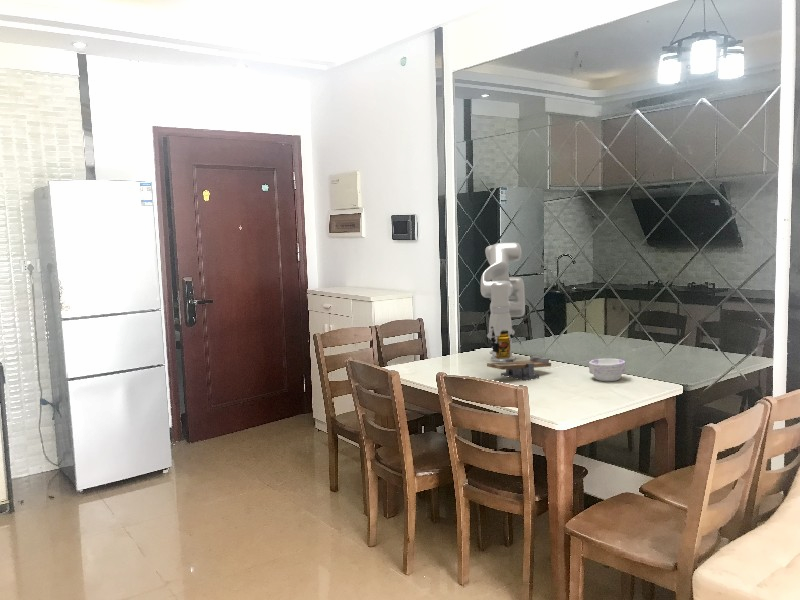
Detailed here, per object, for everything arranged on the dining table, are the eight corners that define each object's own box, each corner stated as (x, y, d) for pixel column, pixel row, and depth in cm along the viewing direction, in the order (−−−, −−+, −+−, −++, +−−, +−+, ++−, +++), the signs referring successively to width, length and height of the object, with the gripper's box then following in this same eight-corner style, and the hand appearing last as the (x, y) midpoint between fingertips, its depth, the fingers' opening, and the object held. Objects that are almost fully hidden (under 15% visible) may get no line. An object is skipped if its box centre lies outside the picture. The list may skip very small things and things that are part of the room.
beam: (486, 366, 290) (487, 358, 290) (535, 363, 307) (535, 355, 307) (502, 369, 282) (502, 361, 282) (551, 366, 299) (551, 358, 298)
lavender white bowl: (588, 375, 292) (588, 357, 291) (624, 375, 288) (624, 357, 287) (589, 382, 277) (589, 364, 277) (627, 383, 273) (627, 364, 273)
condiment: (501, 359, 283) (500, 332, 282) (489, 357, 290) (488, 330, 289) (514, 357, 286) (513, 330, 285) (503, 355, 294) (502, 328, 292)
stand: (501, 375, 299) (500, 360, 299) (514, 372, 304) (513, 357, 303) (526, 380, 286) (525, 365, 285) (539, 378, 291) (538, 362, 290)
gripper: (508, 308, 294) (510, 347, 296) (479, 311, 284) (481, 352, 286) (520, 309, 288) (521, 349, 289) (491, 312, 278) (492, 354, 280)
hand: (501, 350), depth 288 cm, fingers closed on condiment, 6 cm apart
